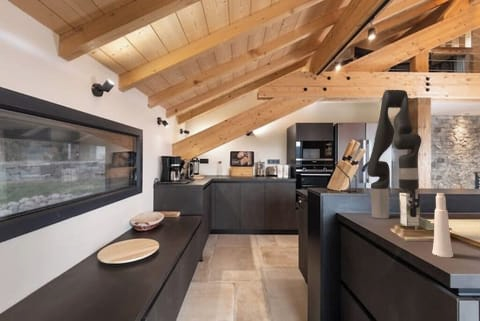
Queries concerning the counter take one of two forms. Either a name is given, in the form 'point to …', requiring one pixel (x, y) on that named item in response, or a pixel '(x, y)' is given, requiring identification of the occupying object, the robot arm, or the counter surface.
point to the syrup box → (408, 211)
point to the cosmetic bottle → (441, 229)
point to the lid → (427, 224)
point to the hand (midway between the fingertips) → (409, 215)
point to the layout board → (413, 233)
